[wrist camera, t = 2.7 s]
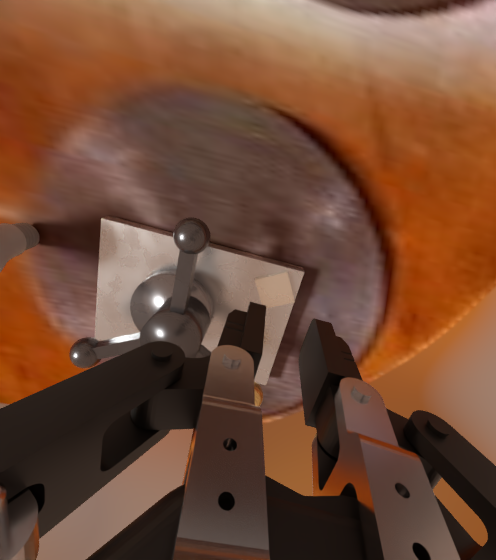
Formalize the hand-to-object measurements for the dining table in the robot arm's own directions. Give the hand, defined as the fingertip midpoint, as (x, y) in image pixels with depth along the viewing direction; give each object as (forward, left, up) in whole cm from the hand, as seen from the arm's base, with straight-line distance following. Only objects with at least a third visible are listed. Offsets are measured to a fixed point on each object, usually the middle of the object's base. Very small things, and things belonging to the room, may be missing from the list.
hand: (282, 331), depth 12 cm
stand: (+7, +9, -17) cm, 21 cm away
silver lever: (+7, +7, -15) cm, 18 cm away
